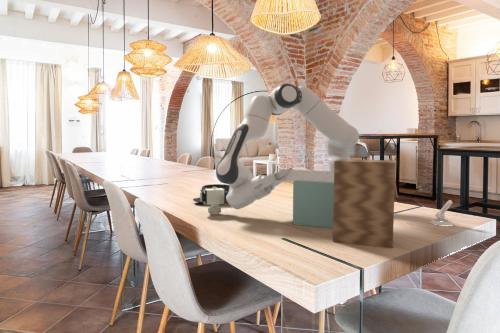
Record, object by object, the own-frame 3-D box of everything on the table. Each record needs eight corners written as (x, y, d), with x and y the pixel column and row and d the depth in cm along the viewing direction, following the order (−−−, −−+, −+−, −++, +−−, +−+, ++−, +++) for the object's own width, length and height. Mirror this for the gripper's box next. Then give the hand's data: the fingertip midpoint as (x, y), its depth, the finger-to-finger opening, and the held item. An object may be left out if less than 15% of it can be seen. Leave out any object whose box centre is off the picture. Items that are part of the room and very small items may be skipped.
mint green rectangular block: (292, 224, 143) (293, 181, 141) (297, 219, 150) (298, 179, 149) (337, 228, 137) (338, 183, 135) (340, 223, 144) (341, 181, 143)
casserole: (201, 208, 175) (201, 190, 174) (187, 201, 191) (187, 185, 190) (247, 203, 187) (247, 186, 187) (230, 197, 203) (230, 182, 203)
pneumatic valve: (229, 214, 160) (228, 186, 159) (202, 216, 157) (201, 187, 156) (225, 211, 166) (225, 185, 165) (199, 213, 162) (199, 186, 161)
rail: (279, 180, 146) (279, 170, 145) (283, 179, 149) (283, 169, 149) (353, 184, 134) (353, 173, 134) (354, 182, 138) (355, 172, 138)
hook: (461, 216, 134) (444, 203, 137) (442, 237, 141) (425, 225, 144) (468, 209, 139) (451, 197, 142) (448, 229, 146) (433, 218, 149)
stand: (332, 241, 120) (334, 161, 117) (337, 234, 129) (339, 159, 127) (392, 248, 113) (395, 162, 111) (392, 239, 122) (395, 160, 120)
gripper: (248, 182, 141) (278, 164, 136) (266, 176, 160) (293, 161, 155) (256, 196, 141) (286, 180, 136) (273, 189, 160) (300, 174, 155)
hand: (290, 169), depth 146 cm, fingers closed on rail, 4 cm apart
